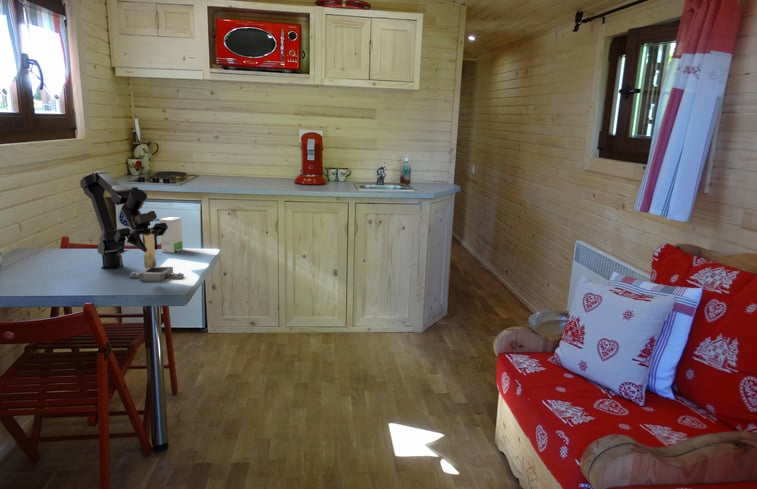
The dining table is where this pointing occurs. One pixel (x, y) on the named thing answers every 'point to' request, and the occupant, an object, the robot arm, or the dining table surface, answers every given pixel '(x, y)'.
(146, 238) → the tan wooden block
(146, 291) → the dining table surface
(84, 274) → the dining table surface
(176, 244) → the skincare box
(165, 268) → the chain joint
